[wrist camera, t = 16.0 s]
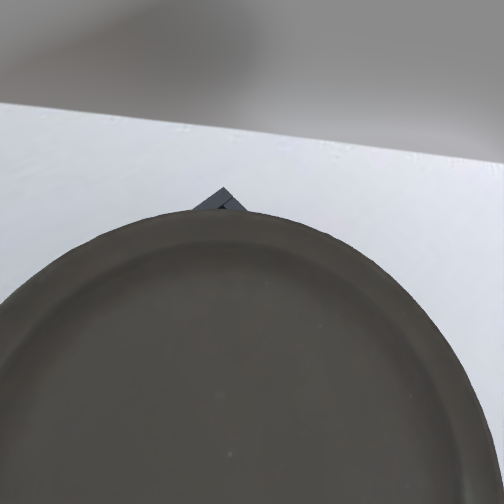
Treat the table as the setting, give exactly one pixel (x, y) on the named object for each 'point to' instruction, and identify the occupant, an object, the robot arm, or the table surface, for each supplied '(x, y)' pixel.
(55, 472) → the coffee can
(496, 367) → the table surface
